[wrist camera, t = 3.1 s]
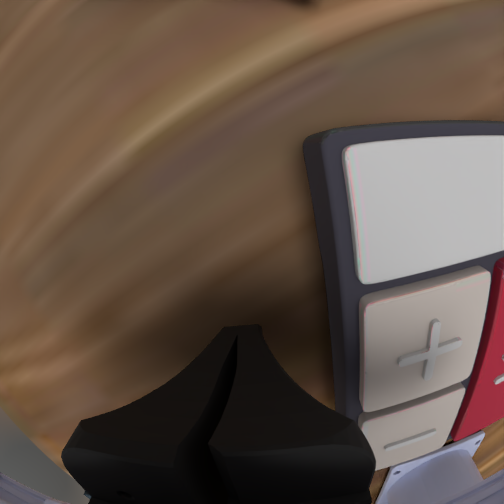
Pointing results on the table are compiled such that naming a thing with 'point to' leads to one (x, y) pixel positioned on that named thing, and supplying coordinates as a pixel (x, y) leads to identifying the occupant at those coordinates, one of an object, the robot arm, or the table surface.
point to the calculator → (413, 277)
